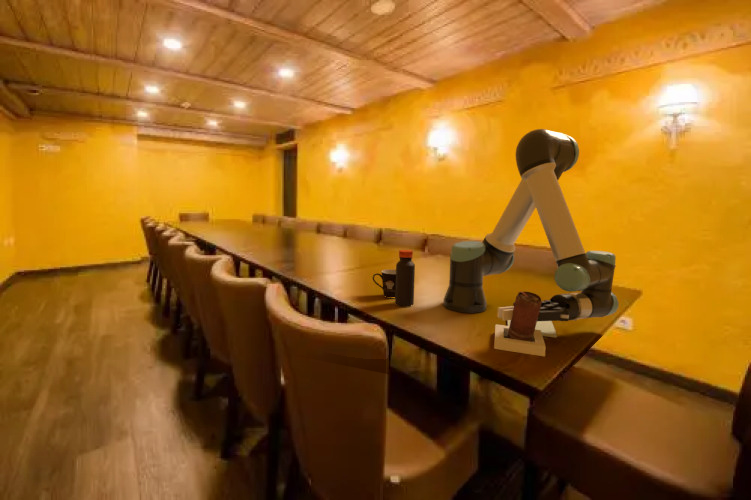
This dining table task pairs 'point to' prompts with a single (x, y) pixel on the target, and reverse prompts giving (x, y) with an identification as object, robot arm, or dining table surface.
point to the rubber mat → (543, 328)
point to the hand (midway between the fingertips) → (500, 314)
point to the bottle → (405, 279)
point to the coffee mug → (388, 282)
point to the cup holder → (519, 342)
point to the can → (524, 316)
